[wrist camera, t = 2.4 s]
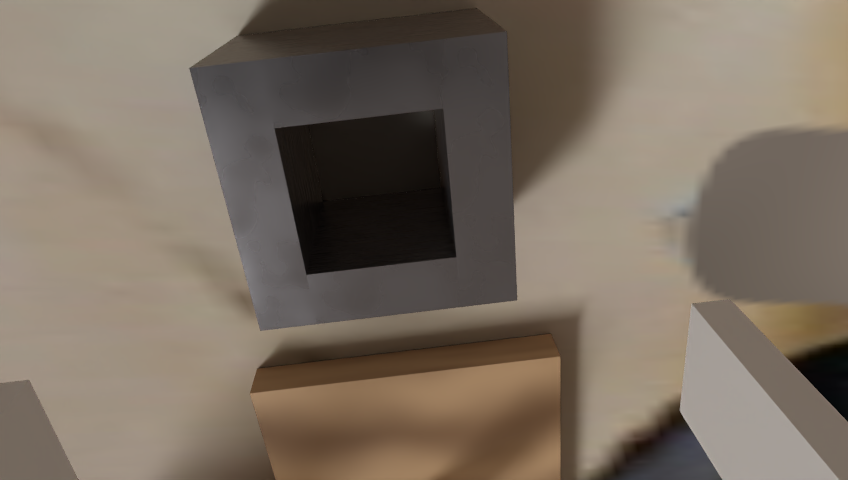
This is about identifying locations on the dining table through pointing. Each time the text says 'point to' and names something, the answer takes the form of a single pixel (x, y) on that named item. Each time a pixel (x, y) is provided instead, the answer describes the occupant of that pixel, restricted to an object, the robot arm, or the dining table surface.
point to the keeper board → (416, 414)
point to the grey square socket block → (371, 215)
